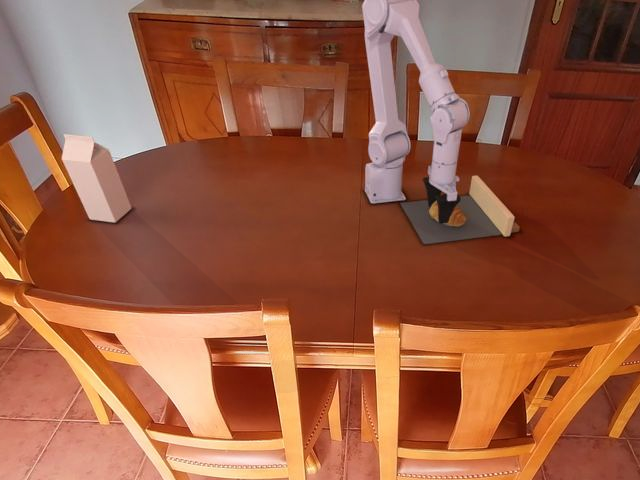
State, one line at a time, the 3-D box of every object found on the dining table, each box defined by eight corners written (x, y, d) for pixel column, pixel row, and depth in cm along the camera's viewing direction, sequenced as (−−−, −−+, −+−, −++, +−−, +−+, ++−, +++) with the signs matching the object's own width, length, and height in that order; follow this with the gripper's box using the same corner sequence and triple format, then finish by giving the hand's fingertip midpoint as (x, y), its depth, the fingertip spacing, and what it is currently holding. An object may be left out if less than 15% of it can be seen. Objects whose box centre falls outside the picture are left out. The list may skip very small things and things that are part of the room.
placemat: (423, 244, 107) (424, 244, 107) (399, 203, 121) (399, 202, 121) (501, 234, 111) (501, 234, 111) (469, 195, 124) (469, 195, 124)
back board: (504, 236, 110) (508, 217, 107) (469, 193, 125) (472, 175, 122) (521, 234, 111) (526, 215, 107) (484, 192, 126) (487, 174, 122)
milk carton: (115, 223, 112) (82, 143, 99) (89, 220, 113) (52, 140, 100) (132, 209, 117) (102, 131, 104) (106, 206, 118) (73, 128, 105)
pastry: (471, 221, 115) (474, 207, 112) (454, 231, 111) (456, 217, 109) (442, 208, 119) (444, 194, 117) (425, 217, 116) (426, 203, 113)
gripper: (473, 172, 100) (463, 227, 110) (450, 145, 110) (443, 198, 120) (442, 175, 99) (435, 231, 109) (422, 148, 109) (417, 201, 119)
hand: (437, 214), depth 114 cm, fingers open, 7 cm apart
